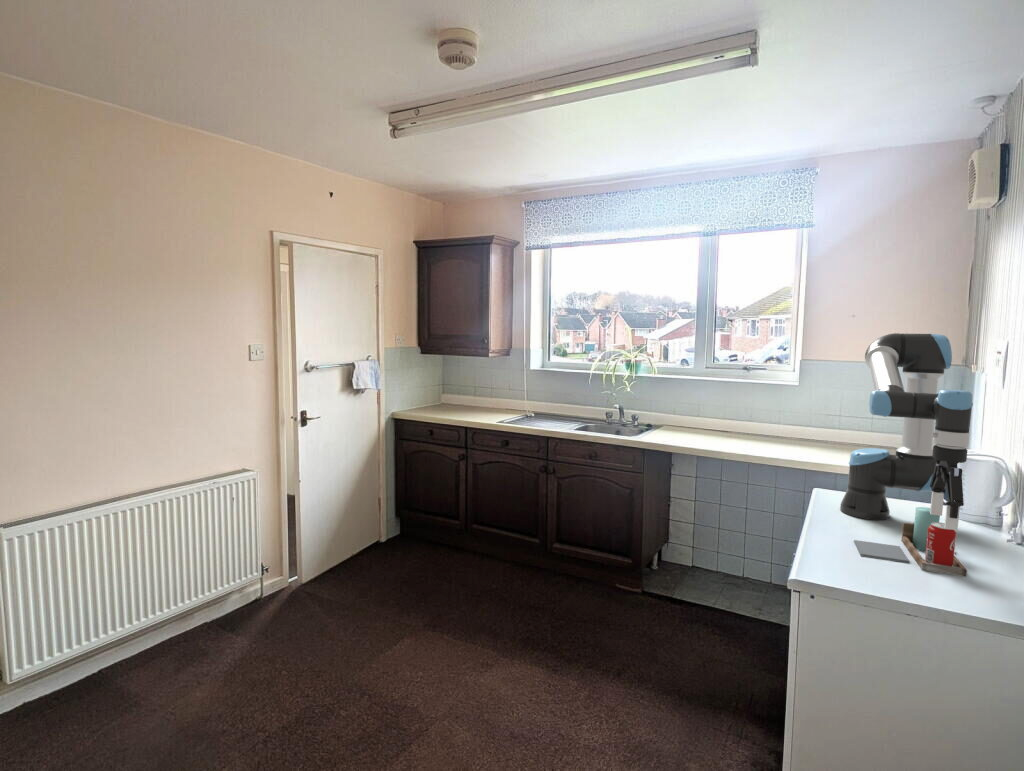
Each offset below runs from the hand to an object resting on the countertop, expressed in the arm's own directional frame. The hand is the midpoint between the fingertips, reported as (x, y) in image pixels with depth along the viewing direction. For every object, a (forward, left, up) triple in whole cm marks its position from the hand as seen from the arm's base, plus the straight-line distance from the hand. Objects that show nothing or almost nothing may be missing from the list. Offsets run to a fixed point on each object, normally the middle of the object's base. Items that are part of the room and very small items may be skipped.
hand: (943, 521), depth 160 cm
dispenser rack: (-7, 0, -13) cm, 15 cm away
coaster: (-6, -13, -13) cm, 19 cm away
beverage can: (0, 0, -13) cm, 13 cm away
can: (-15, 0, -13) cm, 20 cm away
